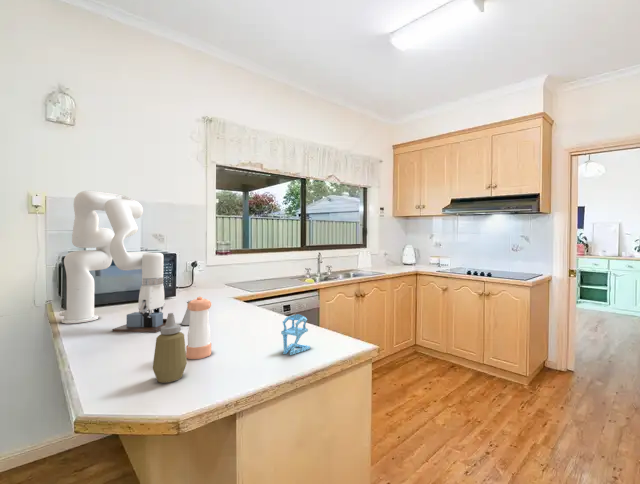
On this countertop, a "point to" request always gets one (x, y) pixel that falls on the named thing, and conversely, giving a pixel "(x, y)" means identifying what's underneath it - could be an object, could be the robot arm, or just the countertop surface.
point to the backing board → (139, 328)
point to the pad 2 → (155, 319)
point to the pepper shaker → (199, 329)
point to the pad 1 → (134, 320)
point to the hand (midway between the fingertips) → (152, 324)
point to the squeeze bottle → (169, 352)
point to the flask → (186, 316)
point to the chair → (294, 334)
